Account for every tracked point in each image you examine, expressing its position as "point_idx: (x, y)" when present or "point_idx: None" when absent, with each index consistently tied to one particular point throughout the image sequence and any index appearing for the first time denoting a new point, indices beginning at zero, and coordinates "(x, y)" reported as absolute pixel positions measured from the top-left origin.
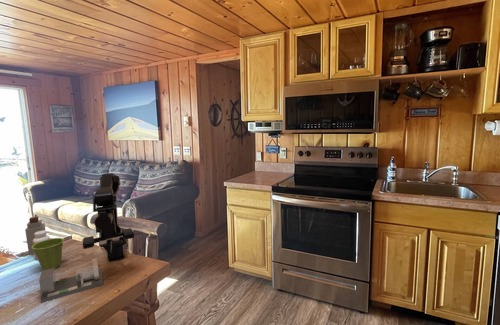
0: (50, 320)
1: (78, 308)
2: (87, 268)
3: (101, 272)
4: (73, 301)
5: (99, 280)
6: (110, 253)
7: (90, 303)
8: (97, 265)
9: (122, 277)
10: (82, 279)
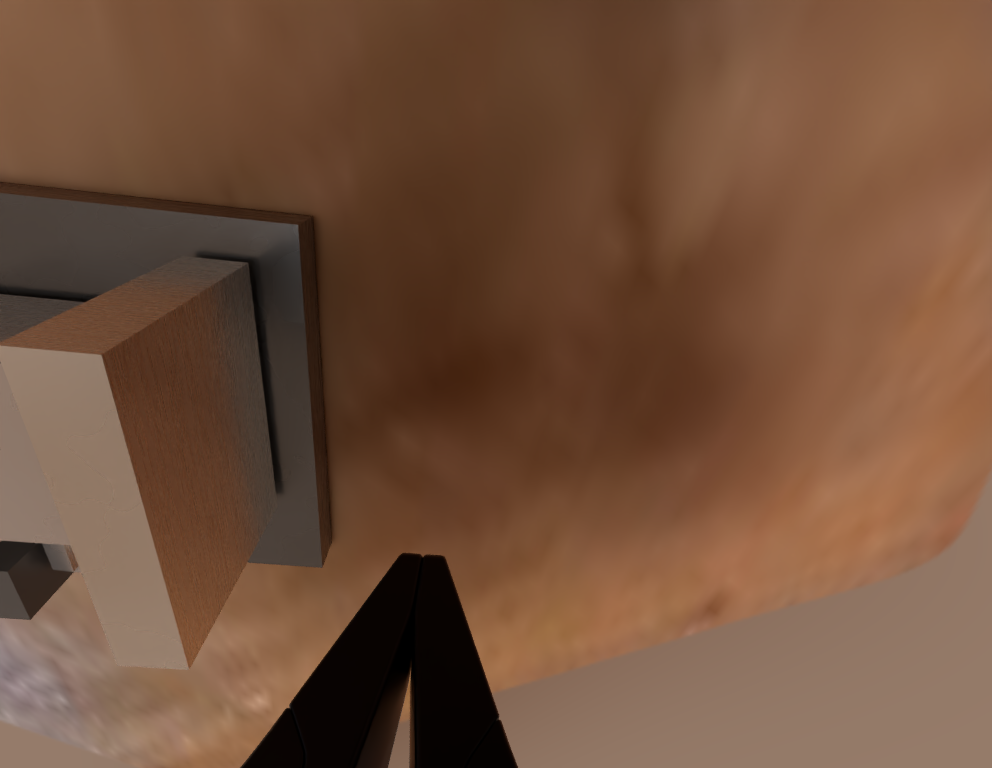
0: (4, 721)
1: (161, 707)
2: (30, 447)
3: (302, 344)
4: (97, 626)
5: (282, 523)
6: (392, 736)
7: (237, 702)
8: (183, 662)
9: (520, 525)
10: (60, 546)
